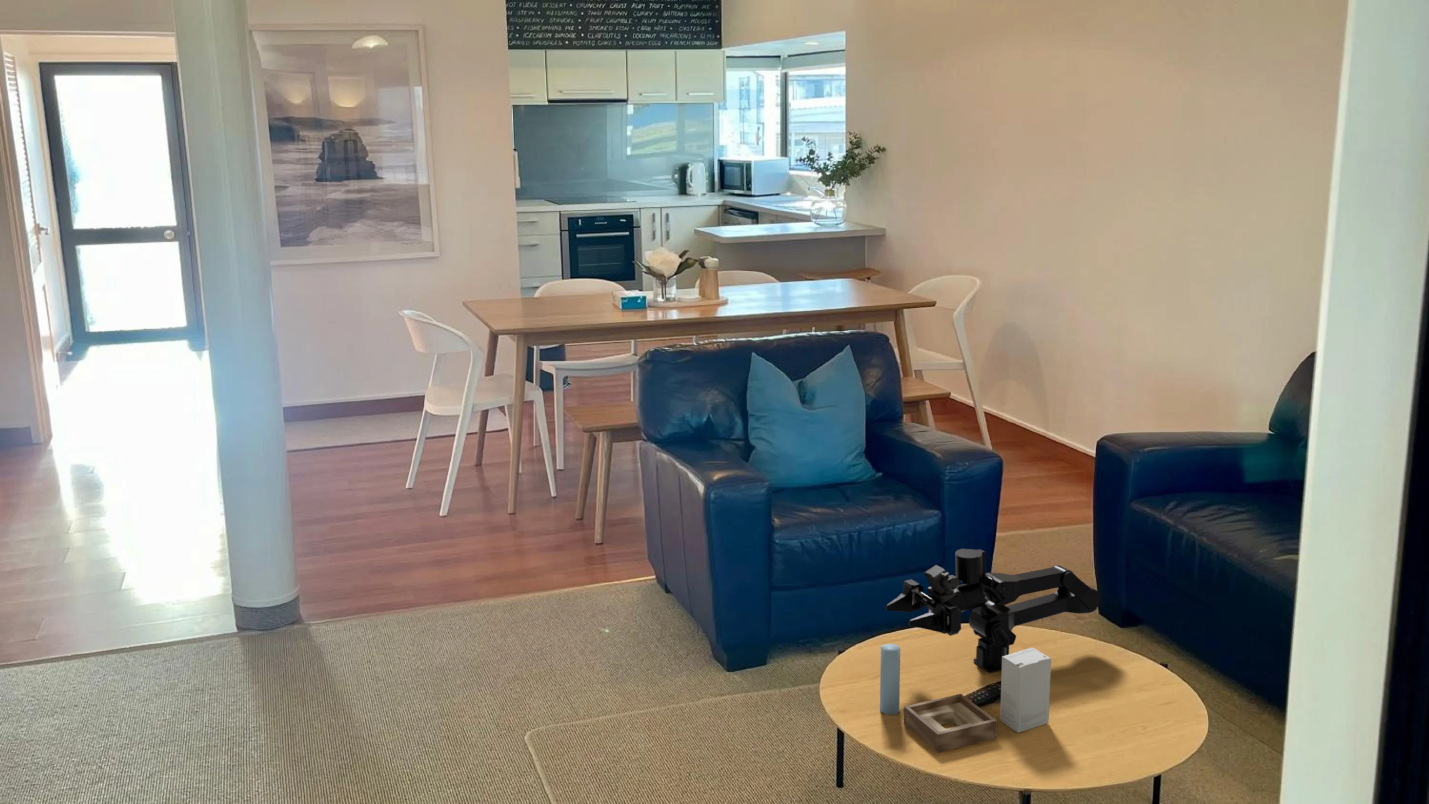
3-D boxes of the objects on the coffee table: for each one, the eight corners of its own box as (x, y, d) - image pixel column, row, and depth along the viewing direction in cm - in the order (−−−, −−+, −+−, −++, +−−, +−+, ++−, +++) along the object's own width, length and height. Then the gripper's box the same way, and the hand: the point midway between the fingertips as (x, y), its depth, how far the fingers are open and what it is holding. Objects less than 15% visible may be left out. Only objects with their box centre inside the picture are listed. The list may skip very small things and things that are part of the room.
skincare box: (1030, 712, 244) (1033, 645, 241) (1050, 724, 239) (1053, 656, 235) (997, 721, 240) (1000, 654, 237) (1017, 734, 235) (1020, 665, 232)
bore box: (960, 710, 245) (960, 693, 244) (996, 738, 234) (996, 720, 233) (903, 723, 240) (904, 706, 239) (937, 752, 229) (938, 734, 228)
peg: (893, 704, 248) (893, 642, 245) (902, 712, 245) (903, 649, 242) (876, 707, 247) (877, 645, 244) (886, 716, 243) (886, 653, 240)
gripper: (933, 551, 264) (873, 566, 259) (983, 578, 248) (920, 595, 242) (935, 597, 267) (875, 613, 261) (984, 627, 250) (922, 645, 245)
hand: (897, 615), depth 252 cm, fingers open, 9 cm apart
